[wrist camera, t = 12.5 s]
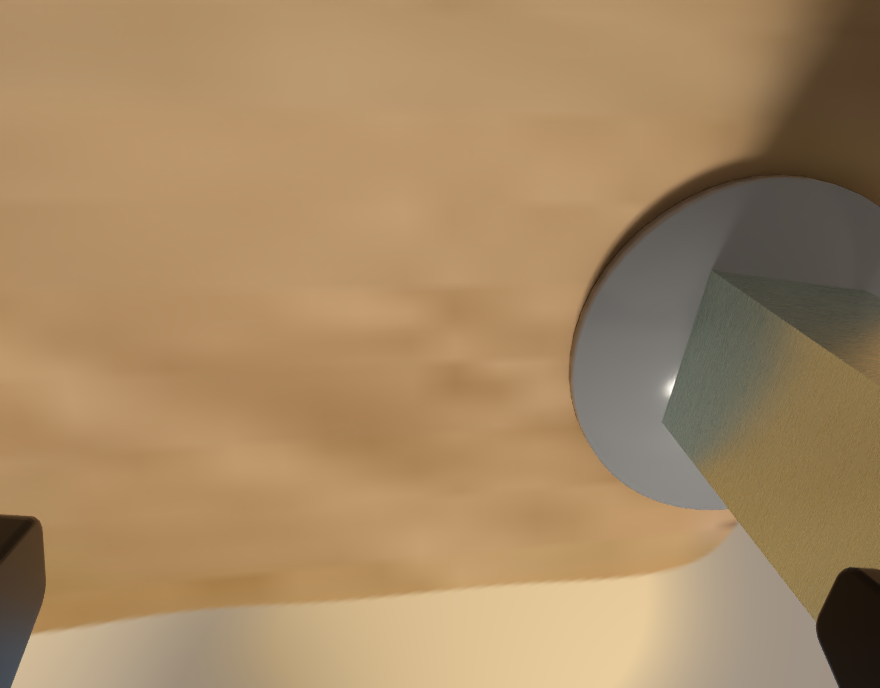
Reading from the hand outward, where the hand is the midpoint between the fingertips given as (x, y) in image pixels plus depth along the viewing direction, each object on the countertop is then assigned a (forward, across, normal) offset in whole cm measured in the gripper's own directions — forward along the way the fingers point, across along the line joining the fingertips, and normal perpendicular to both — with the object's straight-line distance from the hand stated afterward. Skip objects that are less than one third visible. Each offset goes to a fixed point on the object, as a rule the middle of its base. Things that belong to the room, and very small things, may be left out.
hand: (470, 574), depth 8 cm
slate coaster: (+13, -11, +2) cm, 17 cm away
